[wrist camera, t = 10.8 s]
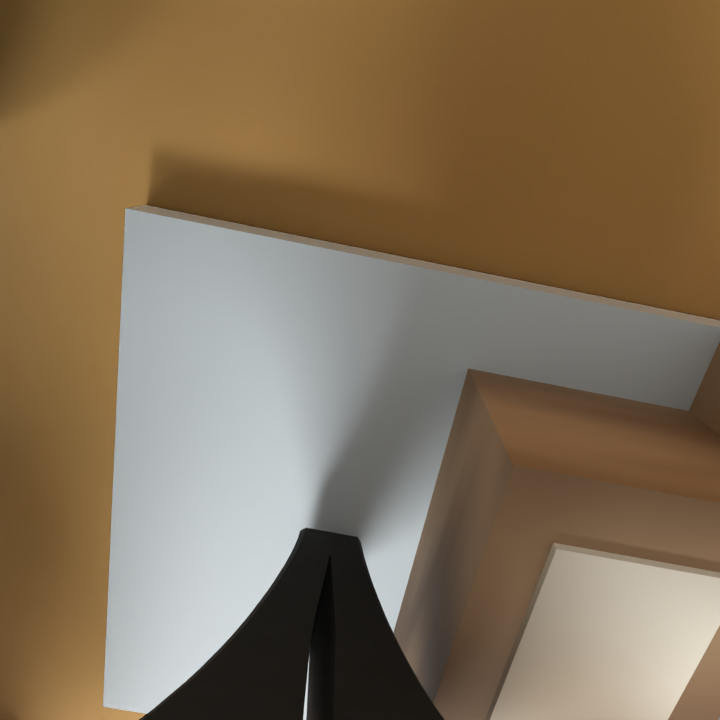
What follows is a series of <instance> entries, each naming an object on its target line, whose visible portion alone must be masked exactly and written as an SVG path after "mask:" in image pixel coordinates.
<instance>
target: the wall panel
mask: <svg viewBox="0 0 720 720" xmlns="http://www.w3.org/2000/svg"><path fill="white" fill-rule="evenodd" d="M468 368H469V369H474V370H479V371H484V372H489V373H495V374H500V375H505V376H510V377H515V378H521V379H526V380H531V381H536V382H541V383H547V384H552V385H557V386H562V387H567V388H572V389H578V390H583V391H588V392H593V393H598V394H604V395H609V396H614V397H619V398H624V399H630V400H635V401H640V402H645V403H650V404H656V405H661V406H666V407H671V408H676V409H681V410H687V411H689V412H691V413H692V414H693V415H695V416H696V417H697V418H698V419H700V420H701V421H702V422H704V423H705V424H706V425H707V426H709V427H710V428H711V429H713V430H714V431H715V432H716V433H718V434H719V435H720V320H716V319H711V318H706V317H701V316H696V315H691V314H686V313H681V312H676V311H671V310H666V309H661V308H656V307H651V306H646V305H641V304H636V303H631V302H626V301H621V300H616V299H611V298H606V297H601V296H596V295H591V294H586V293H581V292H576V291H572V290H567V289H562V288H557V287H552V286H547V285H542V284H537V283H532V282H527V281H522V280H517V279H512V278H507V277H502V276H497V275H492V274H487V273H482V272H477V271H472V270H467V269H462V268H457V267H452V266H447V265H442V264H437V263H432V262H427V261H422V260H417V259H412V258H407V257H402V256H397V255H392V254H387V253H383V252H378V251H373V250H368V249H363V248H358V247H353V246H348V245H343V244H338V243H333V242H328V241H323V240H318V239H313V238H308V237H303V236H298V235H293V234H288V233H283V232H278V231H273V230H268V229H263V228H258V227H253V226H248V225H243V224H238V223H233V222H228V221H223V220H218V219H213V218H208V217H203V216H198V215H193V214H189V213H184V212H179V211H174V210H169V209H164V208H159V207H154V206H149V205H142V206H136V207H130V208H125V230H124V252H123V274H122V296H121V319H120V341H119V363H118V385H117V407H116V430H115V452H114V474H113V496H112V518H111V540H110V563H109V585H108V607H107V629H106V651H105V674H104V696H103V707H107V708H114V709H120V710H126V711H133V712H139V713H145V714H147V713H149V712H150V711H151V710H152V709H154V708H155V707H156V706H157V705H158V704H160V703H161V702H162V701H163V700H164V699H166V698H167V697H168V696H169V695H170V694H171V693H173V692H174V691H175V690H176V689H177V688H179V687H180V686H181V685H182V684H183V683H184V682H186V681H187V680H188V679H189V678H190V677H191V676H192V675H193V674H194V673H195V672H196V671H198V670H199V669H200V668H201V667H202V666H203V665H204V664H205V663H206V662H207V661H208V660H209V659H210V658H211V657H212V656H213V655H214V654H215V653H216V652H217V651H218V650H219V649H220V648H221V647H222V646H223V644H224V643H225V642H226V641H227V640H228V639H229V638H230V637H231V636H232V635H233V633H234V632H235V631H236V630H237V629H238V628H239V627H240V625H241V624H242V623H243V622H244V621H245V619H246V618H247V617H248V616H249V615H250V613H251V612H252V611H253V609H254V608H255V607H256V605H257V604H258V603H259V601H260V600H261V599H262V597H263V596H264V595H265V593H266V592H267V591H268V589H269V588H270V586H271V585H272V583H273V582H274V580H275V579H276V577H277V576H278V574H279V573H280V571H281V570H282V568H283V566H284V565H285V563H286V561H287V559H288V558H289V556H290V554H291V552H292V550H293V548H294V546H295V544H296V541H297V539H298V536H299V533H300V530H302V529H304V528H311V529H317V530H322V531H328V532H333V533H339V534H344V535H350V536H356V537H358V538H359V540H360V541H361V545H362V549H363V553H364V557H365V561H366V564H367V567H368V571H369V574H370V577H371V580H372V582H373V585H374V588H375V591H376V593H377V596H378V598H379V601H380V603H381V606H382V608H383V611H384V613H385V615H386V618H387V620H388V622H389V624H390V627H391V629H392V631H393V632H394V629H395V625H396V622H397V618H398V615H399V611H400V608H401V604H402V601H403V597H404V593H405V590H406V586H407V583H408V579H409V576H410V572H411V569H412V565H413V562H414V558H415V555H416V551H417V547H418V544H419V540H420V537H421V533H422V530H423V526H424V523H425V519H426V516H427V512H428V509H429V505H430V501H431V498H432V494H433V491H434V487H435V484H436V480H437V477H438V473H439V470H440V466H441V463H442V459H443V456H444V452H445V448H446V445H447V441H448V438H449V434H450V431H451V427H452V424H453V420H454V417H455V413H456V410H457V406H458V402H459V399H460V395H461V392H462V388H463V385H464V381H465V378H466V374H467V371H468ZM308 674H309V662H308V672H307V683H306V693H305V703H304V715H303V720H306V717H307V695H308ZM718 720H720V717H719V719H718Z"/></svg>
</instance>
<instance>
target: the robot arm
mask: <svg viewBox="0 0 720 720" xmlns="http://www.w3.org/2000/svg"><path fill="white" fill-rule="evenodd" d="M308 662H309V674H308V695H307V717H306V720H445V719H444V718H443V717H442V715H441V714H440V712H439V711H438V710H437V708H436V707H435V705H434V704H433V702H432V701H431V699H430V698H429V696H428V694H427V693H426V691H425V690H424V688H423V686H422V685H421V683H420V682H419V680H418V678H417V676H416V675H415V673H414V671H413V669H412V668H411V666H410V664H409V662H408V661H407V659H406V657H405V655H404V653H403V651H402V649H401V647H400V645H399V643H398V641H397V639H396V637H395V635H394V633H393V631H392V629H391V627H390V624H389V622H388V620H387V618H386V615H385V613H384V611H383V608H382V606H381V603H380V601H379V598H378V596H377V593H376V591H375V588H374V585H373V582H372V580H371V577H370V574H369V571H368V567H367V564H366V561H365V557H364V553H363V549H362V545H361V541H360V540H359V538H358V537H356V536H350V535H344V534H339V533H333V532H328V531H322V530H317V529H311V528H304V529H302V530H300V533H299V536H298V539H297V541H296V544H295V546H294V548H293V550H292V552H291V554H290V556H289V558H288V559H287V561H286V563H285V565H284V566H283V568H282V570H281V571H280V573H279V574H278V576H277V577H276V579H275V580H274V582H273V583H272V585H271V586H270V588H269V589H268V591H267V592H266V593H265V595H264V596H263V597H262V599H261V600H260V601H259V603H258V604H257V605H256V607H255V608H254V609H253V611H252V612H251V613H250V615H249V616H248V617H247V618H246V619H245V621H244V622H243V623H242V624H241V625H240V627H239V628H238V629H237V630H236V631H235V632H234V633H233V635H232V636H231V637H230V638H229V639H228V640H227V641H226V642H225V643H224V644H223V646H222V647H221V648H220V649H219V650H218V651H217V652H216V653H215V654H214V655H213V656H212V657H211V658H210V659H209V660H208V661H207V662H206V663H205V664H204V665H203V666H202V667H201V668H200V669H199V670H198V671H196V672H195V673H194V674H193V675H192V676H191V677H190V678H189V679H188V680H187V681H186V682H184V683H183V684H182V685H181V686H180V687H179V688H177V689H176V690H175V691H174V692H173V693H171V694H170V695H169V696H168V697H167V698H166V699H164V700H163V701H162V702H161V703H160V704H158V705H157V706H156V707H155V708H154V709H152V710H151V711H150V712H149V713H147V714H146V715H145V716H144V717H142V718H141V719H139V720H303V715H304V703H305V693H306V683H307V672H308Z"/></svg>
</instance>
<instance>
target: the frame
mask: <svg viewBox="0 0 720 720" xmlns="http://www.w3.org/2000/svg"><path fill="white" fill-rule="evenodd" d="M393 633H394V635H395V637H396V639H397V641H398V643H399V645H400V647H401V649H402V651H403V653H404V655H405V657H406V659H407V661H408V662H409V664H410V666H411V668H412V669H413V671H414V673H415V675H416V676H417V678H418V680H419V682H420V683H421V685H422V686H423V688H424V690H425V691H426V693H427V694H428V696H429V698H430V699H431V701H432V702H433V704H434V705H435V707H436V708H437V710H438V711H439V712H440V714H441V715H442V717H443V718H444V719H445V720H718V719H719V717H720V435H719V434H718V433H716V432H715V431H714V430H713V429H711V428H710V427H709V426H707V425H706V424H705V423H704V422H702V421H701V420H700V419H698V418H697V417H696V416H695V415H693V414H692V413H691V412H689V411H687V410H681V409H676V408H671V407H666V406H661V405H656V404H650V403H645V402H640V401H635V400H630V399H624V398H619V397H614V396H609V395H604V394H598V393H593V392H588V391H583V390H578V389H572V388H567V387H562V386H557V385H552V384H547V383H541V382H536V381H531V380H526V379H521V378H515V377H510V376H505V375H500V374H495V373H489V372H484V371H479V370H474V369H469V368H468V371H467V374H466V378H465V381H464V385H463V388H462V392H461V395H460V399H459V402H458V406H457V410H456V413H455V417H454V420H453V424H452V427H451V431H450V434H449V438H448V441H447V445H446V448H445V452H444V456H443V459H442V463H441V466H440V470H439V473H438V477H437V480H436V484H435V487H434V491H433V494H432V498H431V501H430V505H429V509H428V512H427V516H426V519H425V523H424V526H423V530H422V533H421V537H420V540H419V544H418V547H417V551H416V555H415V558H414V562H413V565H412V569H411V572H410V576H409V579H408V583H407V586H406V590H405V593H404V597H403V601H402V604H401V608H400V611H399V615H398V618H397V622H396V625H395V629H394V632H393Z"/></svg>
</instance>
